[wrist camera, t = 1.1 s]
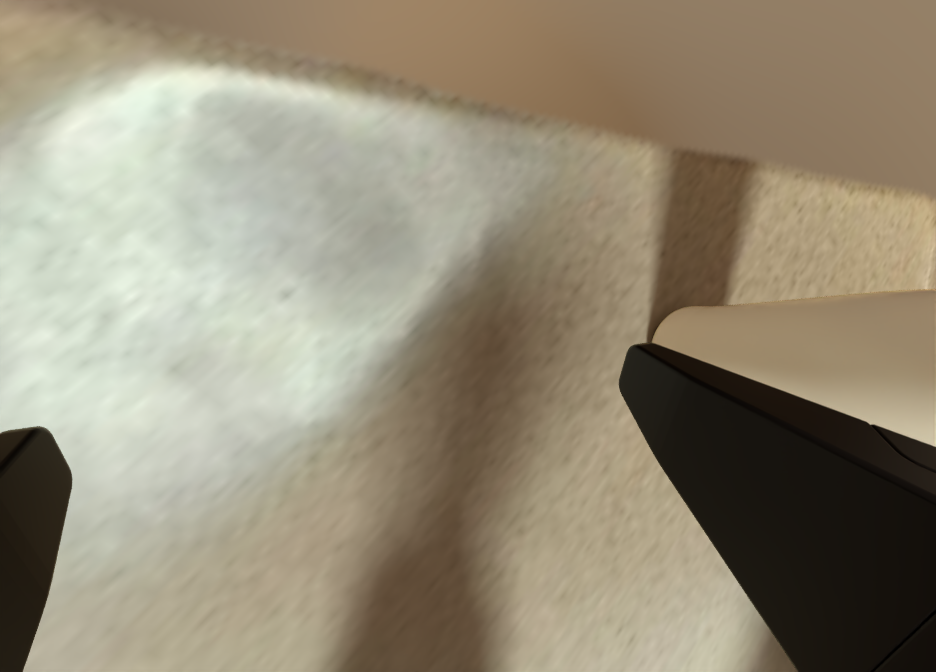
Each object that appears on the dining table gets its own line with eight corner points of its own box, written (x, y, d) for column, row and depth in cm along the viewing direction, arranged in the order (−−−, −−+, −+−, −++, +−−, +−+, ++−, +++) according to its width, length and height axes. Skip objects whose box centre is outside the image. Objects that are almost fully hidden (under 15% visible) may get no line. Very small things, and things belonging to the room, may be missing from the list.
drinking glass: (697, 271, 28) (1080, 241, 14) (743, 362, 30) (1130, 417, 16) (614, 338, 27) (948, 379, 13) (667, 429, 29) (1018, 557, 14)
